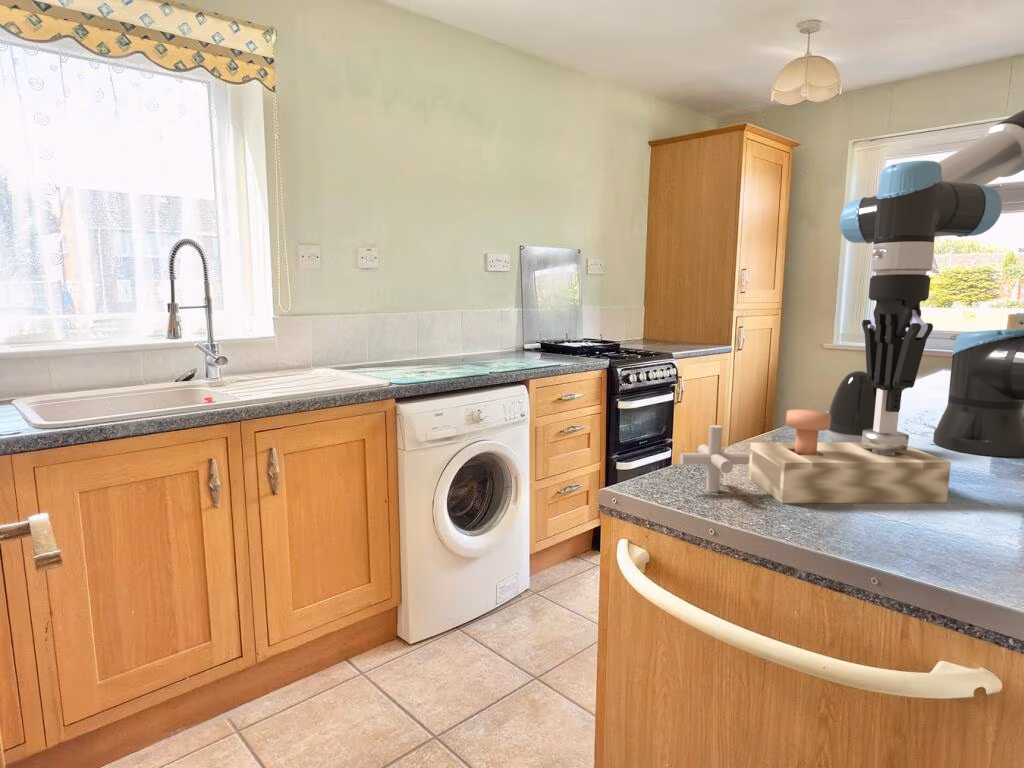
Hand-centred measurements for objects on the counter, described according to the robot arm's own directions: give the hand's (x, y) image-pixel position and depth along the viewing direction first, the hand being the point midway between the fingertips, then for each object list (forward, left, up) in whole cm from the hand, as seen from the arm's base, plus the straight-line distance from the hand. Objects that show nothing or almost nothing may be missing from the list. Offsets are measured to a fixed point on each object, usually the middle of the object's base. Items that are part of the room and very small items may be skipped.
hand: (884, 431), depth 93 cm
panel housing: (+6, 0, -9) cm, 11 cm away
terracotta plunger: (+12, 0, -5) cm, 13 cm away
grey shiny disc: (0, 0, -8) cm, 8 cm away
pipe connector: (+26, 0, -9) cm, 27 cm away
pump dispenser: (-11, -26, -9) cm, 30 cm away
